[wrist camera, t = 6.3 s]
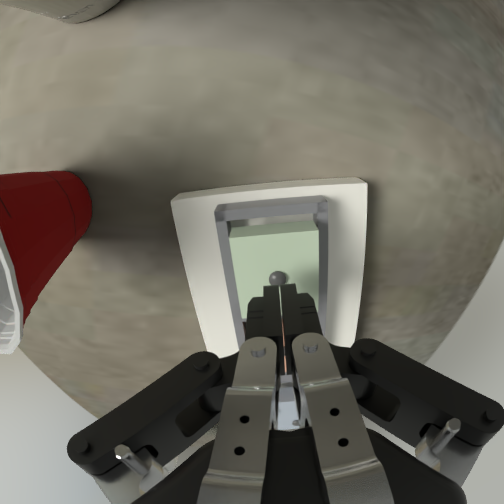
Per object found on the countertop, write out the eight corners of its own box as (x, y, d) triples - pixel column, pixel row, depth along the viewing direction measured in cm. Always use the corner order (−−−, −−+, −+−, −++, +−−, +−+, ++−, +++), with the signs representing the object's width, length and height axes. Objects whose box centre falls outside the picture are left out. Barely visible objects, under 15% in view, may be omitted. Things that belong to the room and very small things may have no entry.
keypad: (178, 193, 18) (162, 207, 15) (356, 177, 17) (376, 188, 14) (229, 397, 27) (226, 423, 24) (338, 388, 26) (344, 413, 23)
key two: (257, 389, 21) (257, 405, 19) (310, 385, 21) (313, 400, 19) (262, 418, 23) (262, 432, 22) (308, 414, 23) (310, 428, 21)
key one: (231, 227, 15) (228, 239, 14) (313, 220, 15) (319, 231, 13) (243, 303, 17) (241, 320, 16) (314, 297, 17) (318, 313, 15)
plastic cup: (134, 152, 17) (-1, 201, 6) (112, 279, 21) (36, 384, 10) (33, 127, 16) (-82, 157, 5) (25, 239, 20) (-58, 306, 9)
